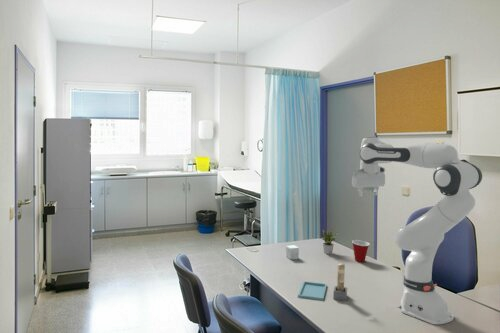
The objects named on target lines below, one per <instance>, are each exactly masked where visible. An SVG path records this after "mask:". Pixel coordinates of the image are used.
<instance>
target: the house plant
mask: <svg viewBox="0 0 500 333" xmlns="http://www.w3.org/2000/svg"><path fill="white" fill-rule="evenodd" d="M319 233H320V234H321V235H322V236H323V237H319V239H320V240H323V241H324V242H323V243H322V246H323V253H324V255H332V254H333V250H334V245H335V244H334V242H338V240H337V239H336V238H338V237H336V236H337V235H338V234H339V231H338V232H334V234H333V229H330V232H329V229H326V231H325V230H324V229H322V232H319Z"/></svg>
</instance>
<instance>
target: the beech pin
mask: <svg viewBox="0 0 500 333" xmlns="http://www.w3.org/2000/svg"><path fill="white" fill-rule="evenodd" d="M345 268H346V266H345V264H344V263H338V264H337V277H336V279H337V280H336V281H337V285H336V286H337V291H344V287H345Z"/></svg>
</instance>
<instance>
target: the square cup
mask: <svg viewBox="0 0 500 333" xmlns="http://www.w3.org/2000/svg"><path fill="white" fill-rule="evenodd" d="M333 300H337V301H345V302H347V300H348V287H347V286H346V287H345V286H344V291H337V285H334V286H333Z"/></svg>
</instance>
